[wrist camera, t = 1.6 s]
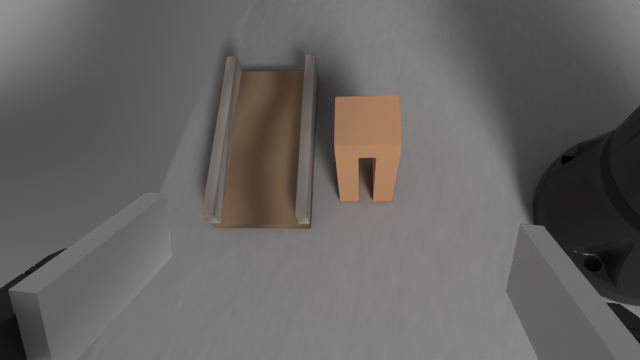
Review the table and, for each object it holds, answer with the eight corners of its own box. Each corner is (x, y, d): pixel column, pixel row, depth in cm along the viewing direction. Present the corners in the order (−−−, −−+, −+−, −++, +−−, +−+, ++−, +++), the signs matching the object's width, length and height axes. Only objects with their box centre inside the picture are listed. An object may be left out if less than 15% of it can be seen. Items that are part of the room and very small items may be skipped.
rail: (318, 76, 48) (314, 54, 45) (310, 228, 41) (306, 214, 38) (236, 78, 49) (227, 56, 46) (214, 227, 42) (201, 214, 38)
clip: (390, 161, 43) (399, 95, 33) (391, 201, 41) (402, 144, 31) (340, 161, 44) (335, 96, 34) (340, 201, 42) (334, 145, 32)
